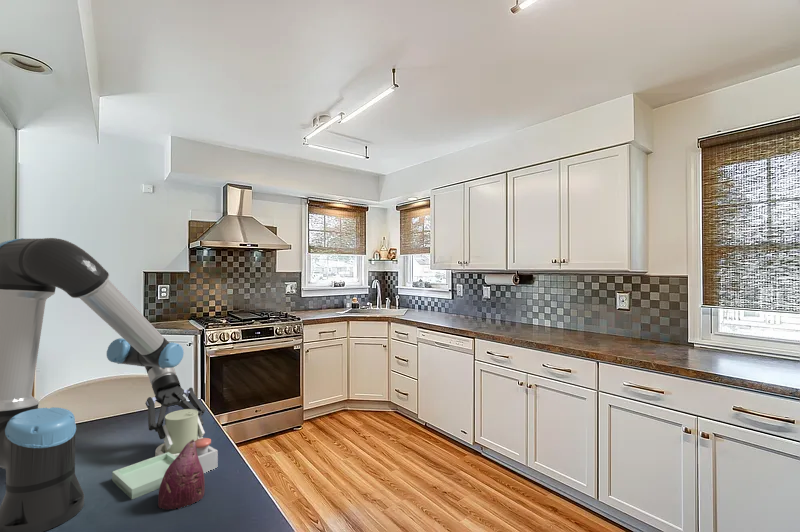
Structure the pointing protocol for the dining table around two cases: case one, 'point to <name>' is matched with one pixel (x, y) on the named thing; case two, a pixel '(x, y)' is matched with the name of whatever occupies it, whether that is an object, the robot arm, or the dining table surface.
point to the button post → (209, 459)
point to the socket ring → (161, 449)
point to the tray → (143, 475)
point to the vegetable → (182, 480)
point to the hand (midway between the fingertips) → (186, 441)
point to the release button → (202, 445)
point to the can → (181, 428)
